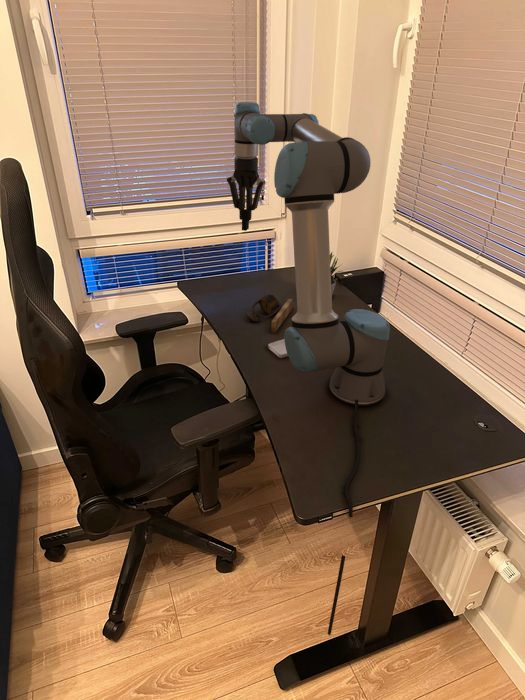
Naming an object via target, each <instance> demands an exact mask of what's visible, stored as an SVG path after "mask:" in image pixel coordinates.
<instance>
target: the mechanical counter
mask: <svg viewBox="0 0 525 700" xmlns="http://www.w3.org/2000/svg"><path fill="white" fill-rule="evenodd" d="M256 305H259V307H260V309H261V310H262V312H263V313H264V314H266V315H260V314H257V313H256V312H255V310H254V309H255V306H256ZM282 307H283V306H282V302H281V301H280V299H279V297H278V296H277V295H276V294H274V293H268V294H267V295H263V296H262V297H261V298H260V299H258V300H257V301H255V302H254V303H253V304H252V307H251V311H247V312H246V316H247V318H248V319H249V320H250V321H251V322H255V323H257V322H259V319H268V318H270V317H273V316H274V315H275V314H277V313H278V312H279V311H280V310H281V308H282Z"/></svg>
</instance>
